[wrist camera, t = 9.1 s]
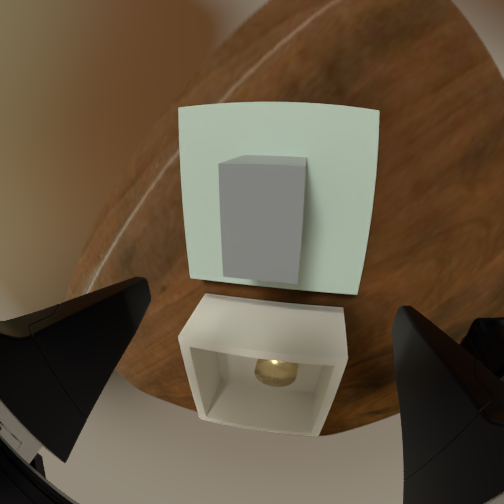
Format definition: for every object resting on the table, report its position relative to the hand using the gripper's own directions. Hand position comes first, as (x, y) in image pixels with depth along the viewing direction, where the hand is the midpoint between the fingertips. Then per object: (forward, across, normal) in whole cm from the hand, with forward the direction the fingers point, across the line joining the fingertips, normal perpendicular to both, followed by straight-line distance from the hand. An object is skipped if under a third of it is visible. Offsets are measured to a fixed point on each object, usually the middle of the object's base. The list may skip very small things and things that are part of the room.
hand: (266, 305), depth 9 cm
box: (+12, +1, +14) cm, 18 cm away
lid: (+12, +1, -1) cm, 12 cm away
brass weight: (+11, 0, +13) cm, 17 cm away
